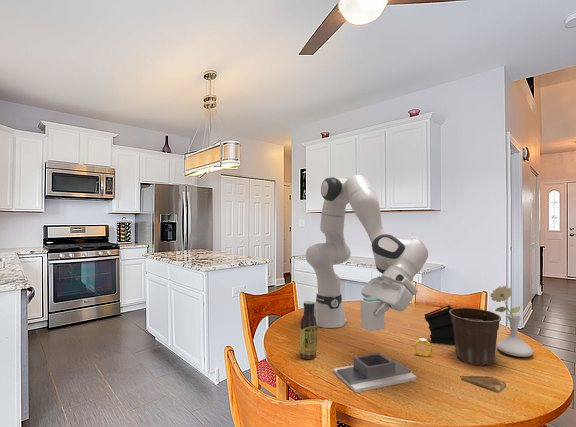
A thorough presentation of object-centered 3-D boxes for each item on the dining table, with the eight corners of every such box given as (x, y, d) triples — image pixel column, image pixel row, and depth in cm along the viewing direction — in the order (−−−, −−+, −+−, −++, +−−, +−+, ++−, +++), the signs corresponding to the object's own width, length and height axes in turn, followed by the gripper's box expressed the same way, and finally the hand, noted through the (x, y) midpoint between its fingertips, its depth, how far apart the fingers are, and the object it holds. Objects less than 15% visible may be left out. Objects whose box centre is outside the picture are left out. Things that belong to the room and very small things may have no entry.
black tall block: (470, 342, 129) (451, 306, 131) (437, 353, 132) (420, 318, 134) (468, 339, 132) (450, 304, 134) (436, 350, 136) (419, 316, 137)
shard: (459, 380, 103) (459, 375, 103) (469, 373, 108) (469, 367, 108) (498, 395, 95) (498, 388, 95) (507, 386, 100) (507, 380, 100)
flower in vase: (527, 349, 126) (525, 283, 126) (538, 361, 115) (537, 290, 115) (488, 345, 130) (486, 282, 130) (495, 356, 119) (494, 287, 119)
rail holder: (333, 371, 109) (333, 356, 109) (389, 361, 116) (388, 347, 116) (355, 392, 96) (355, 375, 96) (416, 379, 103) (416, 363, 103)
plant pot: (502, 373, 107) (501, 323, 107) (447, 362, 115) (446, 316, 115) (501, 355, 120) (500, 311, 121) (452, 346, 129) (451, 305, 129)
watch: (415, 356, 121) (413, 340, 121) (414, 353, 123) (413, 337, 124) (433, 357, 119) (431, 340, 119) (432, 354, 122) (430, 338, 122)
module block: (361, 327, 108) (360, 297, 108) (376, 324, 110) (375, 296, 110) (368, 331, 104) (367, 300, 104) (384, 328, 106) (383, 298, 106)
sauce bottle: (305, 361, 117) (304, 305, 117) (296, 355, 123) (296, 301, 123) (320, 357, 120) (320, 303, 120) (311, 351, 126) (311, 299, 126)
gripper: (371, 270, 119) (348, 299, 116) (409, 279, 100) (383, 315, 97) (382, 281, 121) (359, 311, 117) (422, 292, 101) (396, 328, 98)
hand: (370, 313), depth 107 cm, fingers closed on module block, 4 cm apart
